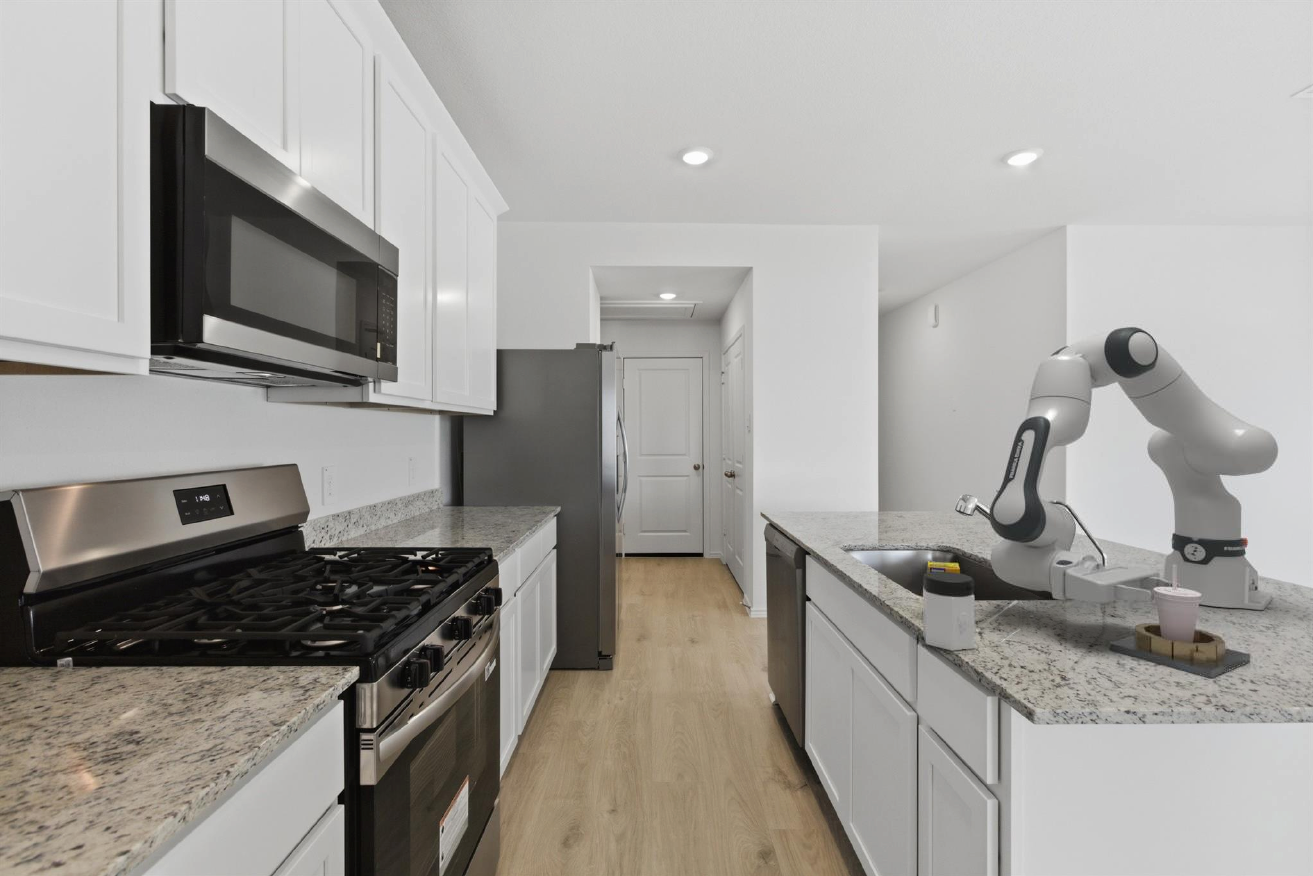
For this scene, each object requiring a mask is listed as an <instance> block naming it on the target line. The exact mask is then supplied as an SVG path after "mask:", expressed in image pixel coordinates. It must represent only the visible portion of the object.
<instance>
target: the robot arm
mask: <svg viewBox="0 0 1313 876" xmlns="http://www.w3.org/2000/svg"><path fill="white" fill-rule="evenodd" d="M1037 368H1038V369H1037V371H1036V374H1035V376H1034V379H1033V383H1032V387H1031V391H1030V394H1029V401H1028V407H1027V410H1026V411H1027V412H1026V415H1025V419H1024V421H1023V422H1021V424H1020V425H1019V427H1018V428H1017V431H1016V434H1015V436H1014V440H1013V444H1012V446H1011V450H1010V454H1009V457H1008V461H1007V465H1006V469H1005V473H1004V477H1003V480H1002V482H1001V485H1000V487H999V489H998V491H997V493H996V495H995V496H994V499H993V501H992V502H991V505H990V508H989V511H988V513H989V514H988V518H989V522H990V526H991V528H992V529H993V530H994V531H993V532H995V533H996V534H997V535H998V536H999V537H1001V538H1002V539H1003V540H1001V541H1000V542H998V543H997V544H994V546H993V547H992V548H991V552H990V563H991V568H992V569H993V570H992V571H993V572H994V573H995V575H996V576H997V577H998V578H999V579H1000V580H1002V581H1004V582H1006V583H1008V584H1011V585H1013V586H1016V587H1019V588H1023V589H1028V590H1033V591H1039V592H1041V591H1045V592H1046V591H1047V592H1050V594H1051V595H1052V599H1055V600H1059V601H1068V600H1069V601H1070V600H1072V601H1073V600H1074V601H1078V602H1084V603H1085V602H1086V603H1092V604H1109V603H1111V602H1116V601H1119V600H1131V601H1132V600H1135V601H1141V602H1145V603H1146V602H1147V603H1148V602H1151V601H1154V599H1155V596H1154V592H1153V589H1154V588H1155V587H1172V565H1177V588H1183V589H1188V590H1193V591H1196V592H1199V593H1201V594H1202V601H1200V602H1199V605H1202V606H1209V607H1217V608H1219V607H1220V608H1230V609H1248V610H1258V611H1261V610H1262V611H1263V610H1265V608H1266V607H1267V606H1268V605H1269V603H1270V602H1271V601H1272V600H1273V595H1272V593H1271V592H1270V593H1269V592H1266V591H1262V590H1259V572H1258V571H1257V569H1256V568H1255V567H1254V566H1253V565H1252V564H1251V562H1250V561H1249V560H1248V559H1247V557H1246V556H1245V555H1246V554H1247V553H1246V548H1247V547H1248V544H1249V541H1248V538H1247V537H1242V505H1241V503H1240V501H1239V500H1238V498H1237V497H1236V496H1234V495H1233V494H1232V493H1231V492H1229V491H1228V489H1227V488H1226V487H1225V485H1224V483H1223V481H1222V479H1221V476H1229V477H1231V476H1232V477H1239V476H1246V475H1247V476H1248V475H1254V474H1261V473H1263V472H1266V471H1268V470H1269V469H1271V468H1272V466H1274V464H1275V462H1276V460H1277V458H1278V454H1279V447H1278V443H1277V441H1276V439H1275V437H1274V436H1273V435H1272V434H1271V433H1270V432H1269V431H1268V430H1266V429H1264V428H1260V427H1258V426H1255V425H1253V424H1250V423H1248V422H1246V421H1244V420H1242V419H1240V418H1238V417H1237V416H1235V415H1233V414H1232V413H1231V412H1229V411H1227V409H1225V408H1223V407H1221V406H1220V405H1218V403H1216V402H1215V401H1213V400H1212V399H1211V398H1210V397H1208V396H1207V395H1206V394H1205V393H1204V392H1203V390H1201V389H1200V388H1199V386H1198V385H1197V384H1196V383H1195V382H1194V380H1193V379H1192V378H1191V377H1190V376H1189V374H1187V372H1186V371H1185V370H1184V369H1183V367H1182V366H1181V365H1180V364H1179V362H1178V361H1177V360H1176V359H1175V358H1174V357H1173V356H1172V354H1170V353H1169V351H1168V350H1166V349H1165V348H1164V347H1162V346H1161V345H1160V344H1158V343H1157V341H1156V339H1155V338H1154V337H1153V336H1152V335H1151V334H1150V333H1148V332H1147V331H1145V330H1144V329H1142V328H1140V327H1135V326H1132V327H1131V326H1130V327H1127V326H1126V327H1120V328H1117V329H1114V330H1112V331H1107V332H1103V333H1099V334H1095V335H1092V336H1088V337H1086V338H1084V339H1082V340H1080V341H1077V342H1076V343H1075V342H1074V343H1073V344H1070V345H1067V346H1066V345H1065V346H1064V347H1061V348H1060V349H1058V350H1056V351H1054V352H1053V353H1052V354H1051V355H1050V356H1049V357H1048V356H1047V357H1046V358H1045V359H1044V360H1043V361H1042V362H1041V363H1040V364H1039V366H1038V367H1037ZM1115 383H1117V384H1118V385H1119V387H1120V388H1121V390H1122V392H1124V394H1125V395H1126V396H1127V397H1128V399H1129V400H1130V401H1131V402H1132V404H1133V405H1134V406H1135V408H1136V409H1137V410H1138V411H1139V413H1141V415H1142V416H1143V418H1144V419H1145V420H1146V421H1147V422H1148V423H1149V424H1150V425H1152V426H1154V427H1156V428H1158V430H1157V431H1155V432H1154V433H1153V434H1152V435H1151V436H1150V437H1149V439H1148V442H1147V448H1146V449H1147V454H1148V456H1149V458H1150V460H1151V461H1152V463H1154V464H1155V465H1156V466H1157V467H1159V468H1160V470H1161V471H1162V473H1163V475H1164V476H1165V478H1166V480H1167V482H1168V485H1169V487H1170V491H1171V494H1172V497H1173V509H1174V510H1173V511H1174V532H1173V533H1172V537H1171V548H1172V549H1173V550H1172V552H1171V553H1169V554H1167V555H1166V556H1164V564H1163V577H1162V578H1161V574H1160V571H1158V570H1155V569H1152V568H1147V567H1146V568H1145V567H1139V566H1132V565H1123V564H1110V565H1105V566H1104V565H1103V564H1102V563H1101V562H1099V561H1098V560H1097V559H1096V557H1095V556H1094V555H1092V554H1090V553H1089V554H1088V553H1082V552H1076V551H1071V548H1072V546H1073V543H1074V539H1075V535H1076V533H1077V528H1076V527H1077V526H1076V521H1075V519H1074V516H1072V514H1071V513H1070V512H1069V511H1068V510H1066V509H1065V508H1062V507H1060V506H1058V505H1056V504H1055V503H1052V502H1049V501H1046V500H1044V499H1043V498H1042V497H1041V494H1040V489H1039V488H1040V484H1041V480H1042V479H1041V478H1042V476H1043V472H1044V468H1045V464H1046V460H1047V456H1048V454H1049V453H1050V452H1051V450H1052V449H1054V448H1055V447H1056V448H1057V447H1063V446H1068V445H1070V444H1072V443H1074V442H1076V441H1078V440H1079V439H1080V438H1082V437H1083V435H1084V434H1085V433H1086V430H1087V428H1088V424H1089V422H1090V421H1089V420H1090V417H1091V407H1092V395H1093V394H1092V393H1093V391H1092V390H1094V389H1098V388H1103V387H1107V386H1109V385H1112V384H1115Z"/></svg>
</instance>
